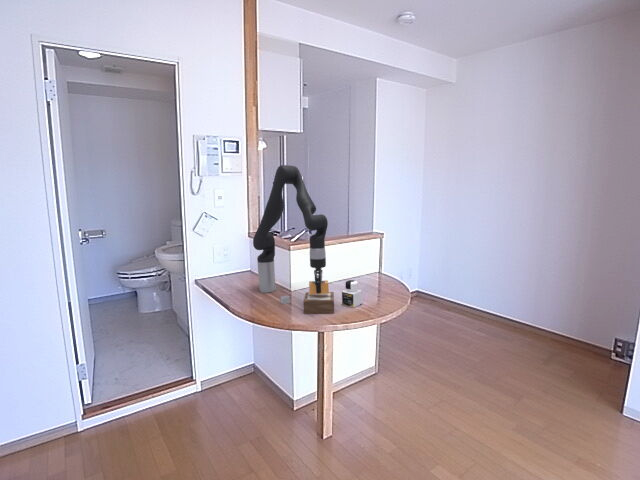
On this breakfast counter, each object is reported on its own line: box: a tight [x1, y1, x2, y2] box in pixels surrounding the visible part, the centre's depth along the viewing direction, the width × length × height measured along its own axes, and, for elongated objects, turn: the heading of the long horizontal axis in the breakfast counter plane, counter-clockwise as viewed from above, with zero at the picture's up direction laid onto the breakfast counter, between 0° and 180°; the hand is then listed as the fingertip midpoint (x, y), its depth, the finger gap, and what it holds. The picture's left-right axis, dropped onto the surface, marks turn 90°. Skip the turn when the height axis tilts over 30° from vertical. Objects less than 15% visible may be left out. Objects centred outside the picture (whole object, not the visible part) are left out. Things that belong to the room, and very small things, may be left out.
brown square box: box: [303, 291, 335, 315], centre depth 181 cm, size 14×14×6 cm
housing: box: [308, 280, 330, 294], centre depth 180 cm, size 9×5×5 cm, turn 93°
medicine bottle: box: [341, 279, 363, 308], centre depth 185 cm, size 7×7×12 cm
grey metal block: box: [280, 295, 291, 305], centre depth 192 cm, size 4×4×3 cm
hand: (318, 291), depth 181 cm, fingers closed on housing, 5 cm apart
